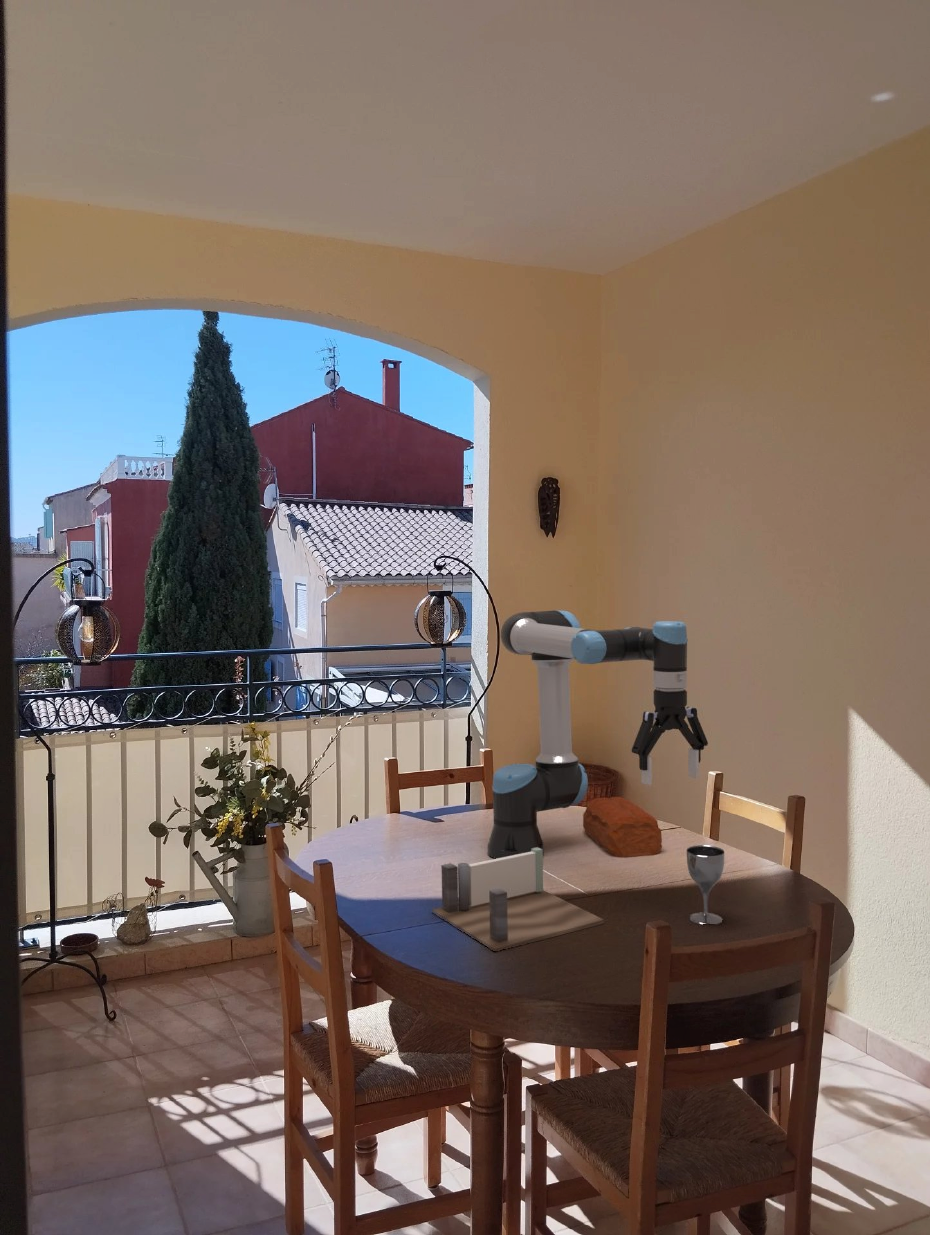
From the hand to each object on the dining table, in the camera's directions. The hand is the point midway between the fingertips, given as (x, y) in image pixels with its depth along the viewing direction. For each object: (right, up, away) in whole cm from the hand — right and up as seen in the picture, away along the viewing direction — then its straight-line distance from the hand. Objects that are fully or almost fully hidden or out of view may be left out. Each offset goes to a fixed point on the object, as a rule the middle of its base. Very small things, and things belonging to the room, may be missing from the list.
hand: (670, 780), depth 219 cm
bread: (-4, -25, +45) cm, 52 cm away
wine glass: (+5, -28, -13) cm, 31 cm away
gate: (-39, -27, -2) cm, 47 cm away
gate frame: (-36, -28, -10) cm, 47 cm away
